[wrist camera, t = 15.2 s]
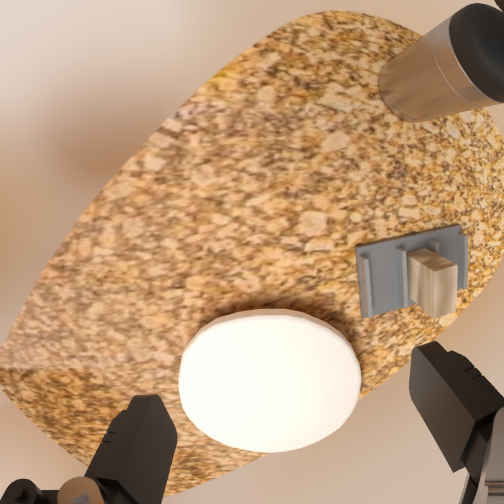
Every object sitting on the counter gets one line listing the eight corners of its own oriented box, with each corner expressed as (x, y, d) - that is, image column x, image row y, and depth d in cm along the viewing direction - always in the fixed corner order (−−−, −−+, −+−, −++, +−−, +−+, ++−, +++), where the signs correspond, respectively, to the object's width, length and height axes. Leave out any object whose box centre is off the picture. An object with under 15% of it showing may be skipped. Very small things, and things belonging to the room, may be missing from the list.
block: (425, 248, 37) (457, 264, 29) (426, 288, 38) (455, 311, 31) (404, 253, 37) (434, 271, 29) (405, 294, 39) (433, 318, 31)
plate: (368, 435, 41) (216, 466, 44) (359, 409, 47) (218, 439, 50) (357, 300, 32) (136, 353, 34) (342, 275, 38) (149, 324, 40)
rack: (456, 224, 37) (468, 228, 34) (456, 287, 39) (467, 294, 36) (354, 246, 38) (361, 252, 35) (361, 315, 40) (367, 324, 38)
